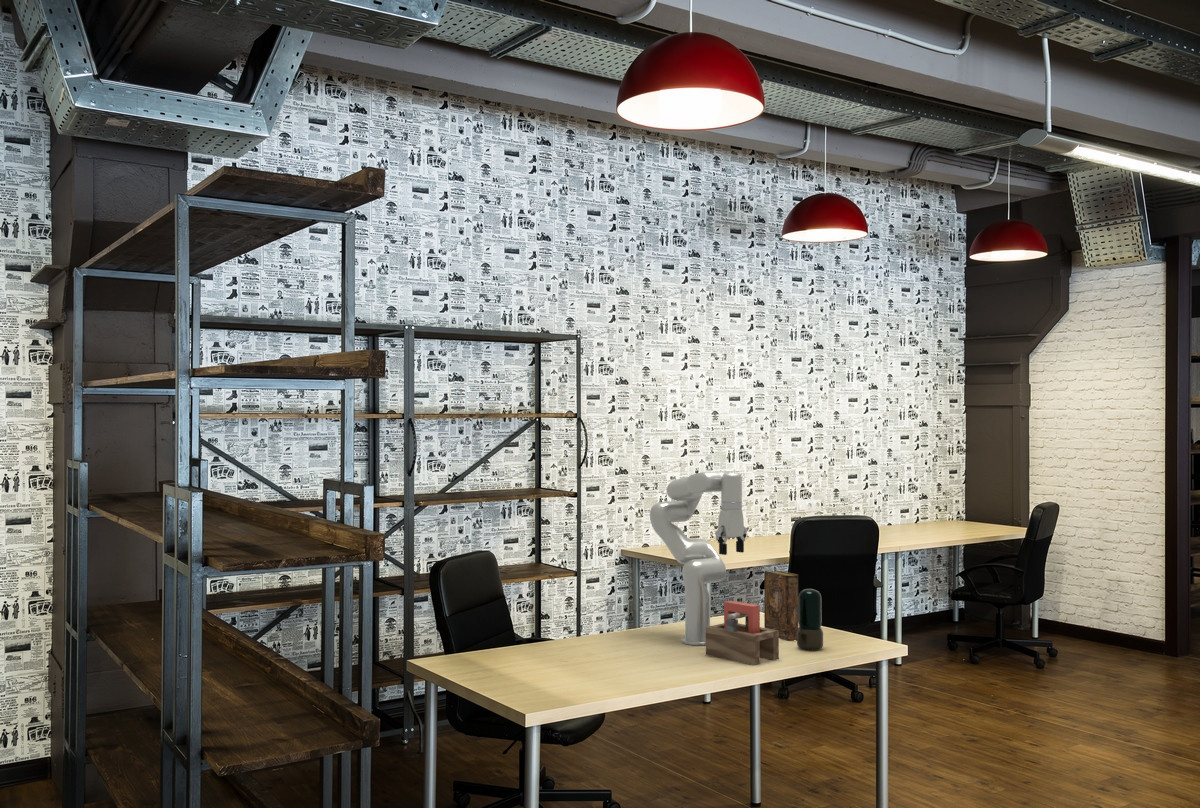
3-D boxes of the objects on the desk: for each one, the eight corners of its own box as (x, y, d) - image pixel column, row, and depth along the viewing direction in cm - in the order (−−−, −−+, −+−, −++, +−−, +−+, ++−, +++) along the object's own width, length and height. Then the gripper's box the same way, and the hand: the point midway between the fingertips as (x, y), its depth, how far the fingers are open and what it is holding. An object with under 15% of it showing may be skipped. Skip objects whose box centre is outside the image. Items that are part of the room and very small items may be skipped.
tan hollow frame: (730, 648, 370) (730, 605, 370) (778, 658, 354) (778, 613, 354) (705, 654, 360) (705, 610, 361) (754, 665, 344) (754, 618, 345)
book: (800, 640, 386) (800, 575, 386) (788, 641, 383) (788, 576, 384) (775, 632, 400) (775, 569, 401) (764, 633, 398) (764, 570, 399)
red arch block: (731, 636, 363) (731, 600, 364) (759, 641, 354) (759, 605, 354) (724, 638, 361) (724, 601, 361) (752, 643, 351) (752, 606, 352)
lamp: (823, 651, 365) (823, 591, 365) (796, 650, 367) (796, 590, 367) (823, 646, 374) (822, 587, 375) (797, 645, 376) (796, 586, 377)
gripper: (738, 504, 374) (738, 550, 374) (708, 507, 362) (708, 554, 362) (754, 505, 369) (754, 552, 368) (724, 508, 357) (724, 556, 356)
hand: (731, 553), depth 365 cm, fingers open, 9 cm apart
